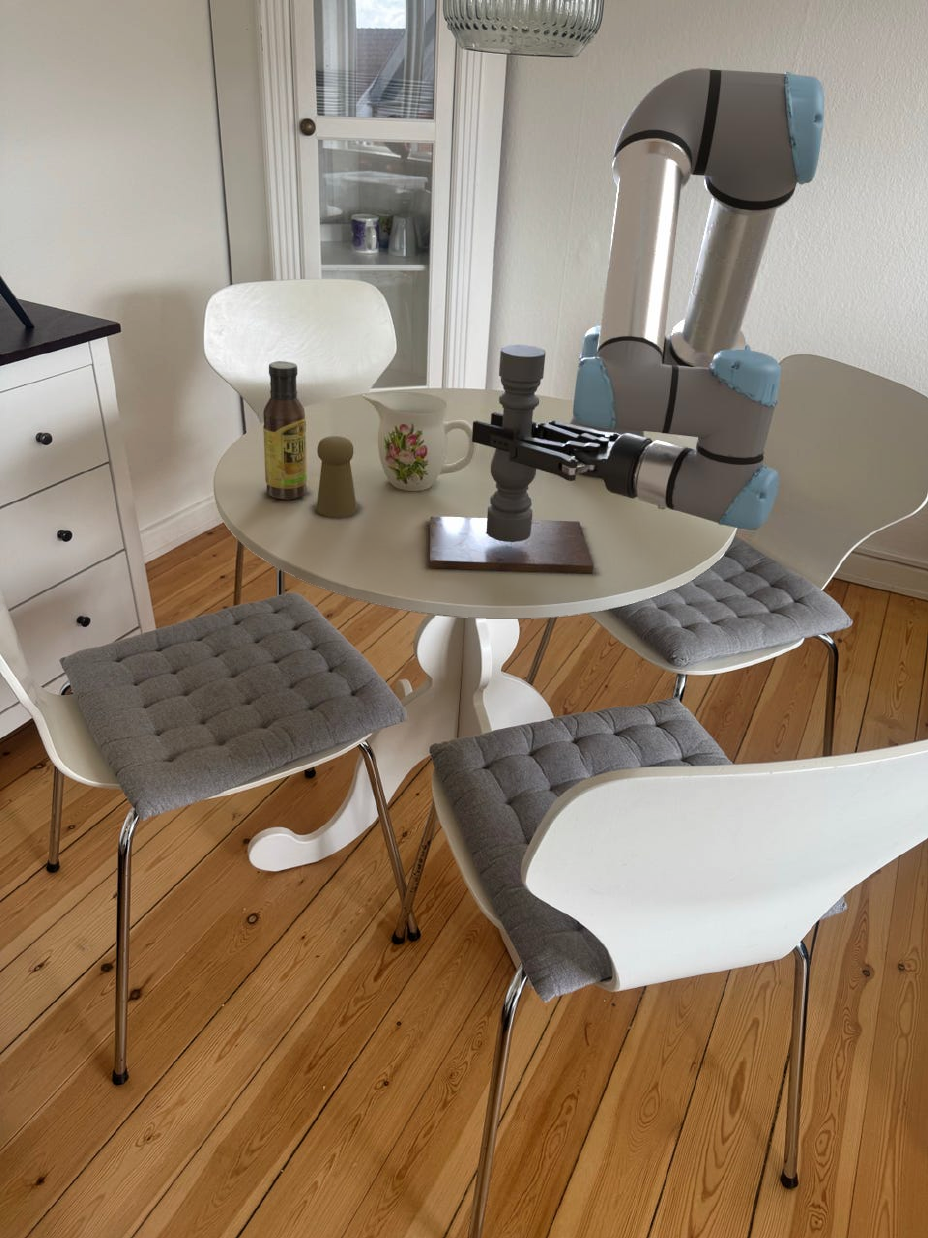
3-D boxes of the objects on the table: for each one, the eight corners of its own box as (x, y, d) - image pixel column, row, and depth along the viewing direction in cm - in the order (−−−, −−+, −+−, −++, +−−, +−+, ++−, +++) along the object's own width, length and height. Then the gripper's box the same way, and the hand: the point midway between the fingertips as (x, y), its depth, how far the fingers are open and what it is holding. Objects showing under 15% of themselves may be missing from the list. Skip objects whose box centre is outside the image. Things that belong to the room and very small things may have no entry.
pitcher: (469, 502, 141) (474, 416, 134) (355, 491, 143) (354, 405, 136) (477, 476, 151) (482, 394, 144) (370, 465, 152) (370, 384, 145)
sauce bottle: (290, 505, 137) (283, 373, 127) (257, 495, 139) (248, 365, 129) (316, 491, 142) (312, 363, 132) (284, 482, 144) (278, 356, 134)
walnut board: (578, 528, 135) (579, 521, 135) (592, 573, 123) (593, 565, 123) (430, 523, 134) (430, 516, 133) (429, 568, 122) (430, 560, 121)
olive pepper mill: (335, 521, 133) (333, 449, 127) (307, 508, 136) (305, 437, 131) (365, 509, 137) (365, 439, 132) (337, 497, 140) (336, 428, 135)
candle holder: (513, 519, 130) (528, 342, 117) (539, 536, 126) (557, 354, 113) (477, 528, 127) (488, 346, 114) (502, 545, 123) (517, 359, 110)
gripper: (611, 520, 107) (446, 471, 117) (666, 478, 119) (513, 437, 130) (620, 459, 103) (448, 414, 114) (676, 422, 115) (517, 385, 126)
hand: (483, 426), depth 122 cm, fingers closed on candle holder, 4 cm apart
